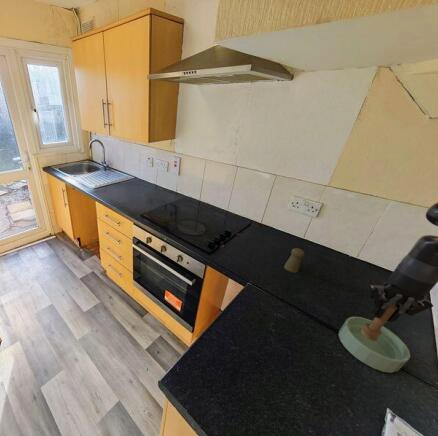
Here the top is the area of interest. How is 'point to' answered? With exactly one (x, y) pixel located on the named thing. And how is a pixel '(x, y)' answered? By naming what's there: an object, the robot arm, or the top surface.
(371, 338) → the muddler
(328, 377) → the top surface
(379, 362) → the bowl
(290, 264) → the cork
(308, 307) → the top surface
